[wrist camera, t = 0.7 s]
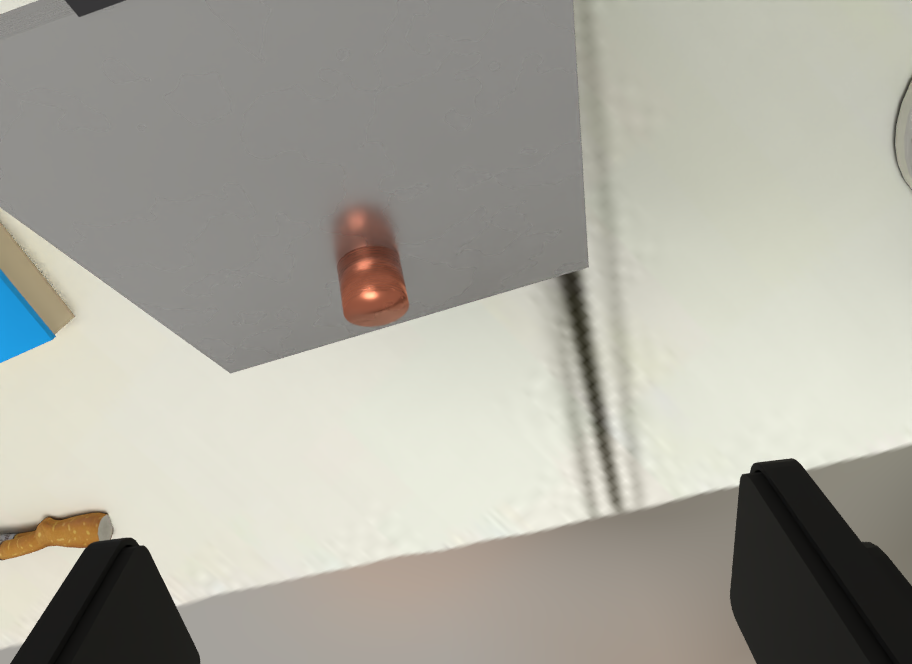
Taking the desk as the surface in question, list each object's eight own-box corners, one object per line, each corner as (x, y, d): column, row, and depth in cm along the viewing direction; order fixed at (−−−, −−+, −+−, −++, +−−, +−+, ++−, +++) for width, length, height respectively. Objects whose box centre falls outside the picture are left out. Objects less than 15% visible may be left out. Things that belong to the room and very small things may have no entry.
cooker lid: (527, -481, 10) (585, -422, 9) (581, 248, 28) (603, 305, 27) (-373, -110, 12) (-449, -9, 10) (229, 354, 30) (232, 413, 28)
